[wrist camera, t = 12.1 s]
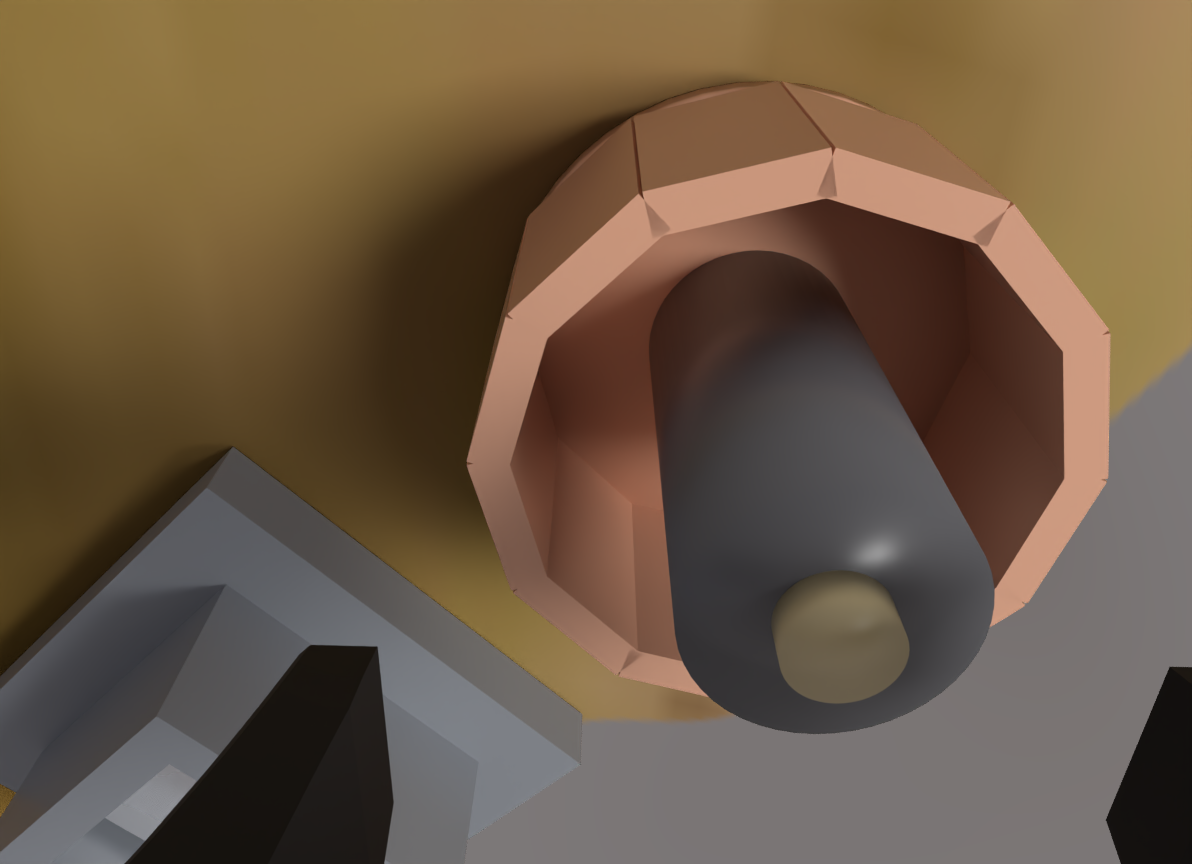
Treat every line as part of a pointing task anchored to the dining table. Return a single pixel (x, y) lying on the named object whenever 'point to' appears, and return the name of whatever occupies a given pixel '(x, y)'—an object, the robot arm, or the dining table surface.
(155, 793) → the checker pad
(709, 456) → the battery cell
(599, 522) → the cup
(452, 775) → the checker housing
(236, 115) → the dining table surface
